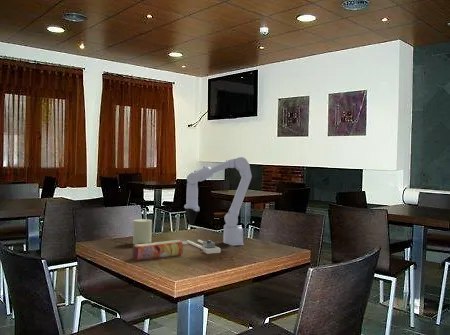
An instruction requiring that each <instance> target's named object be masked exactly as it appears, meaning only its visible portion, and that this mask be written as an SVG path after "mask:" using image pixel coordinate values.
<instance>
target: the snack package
mask: <svg viewBox="0 0 450 335" xmlns="http://www.w3.org/2000/svg"><path fill="white" fill-rule="evenodd" d="M181 241H182V240H179V239H174V240H165V241H156V242H149V243H139V244H136V245H134V244H133V245H132V250H131V253H132V254H131V255H132V259H133V260H136V261H141V260H151V259H152V260H153V259H161V258H169V257H178V256H179V257H180V256H182V254H183V251H184V244H182V242H181Z"/></svg>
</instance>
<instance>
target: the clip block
mask: <svg viewBox="0 0 450 335" xmlns="http://www.w3.org/2000/svg"><path fill="white" fill-rule="evenodd" d="M202 241H203V244H202V247H205V248H207V249H212V248H215V246H216V242H214V241H212V240H211V239H207V240H206V241H205V240H202Z"/></svg>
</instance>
